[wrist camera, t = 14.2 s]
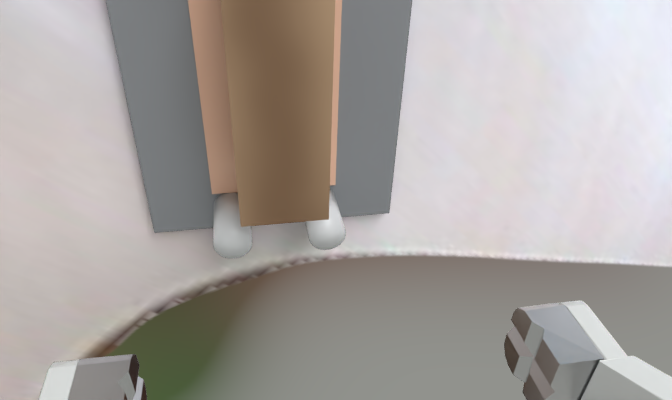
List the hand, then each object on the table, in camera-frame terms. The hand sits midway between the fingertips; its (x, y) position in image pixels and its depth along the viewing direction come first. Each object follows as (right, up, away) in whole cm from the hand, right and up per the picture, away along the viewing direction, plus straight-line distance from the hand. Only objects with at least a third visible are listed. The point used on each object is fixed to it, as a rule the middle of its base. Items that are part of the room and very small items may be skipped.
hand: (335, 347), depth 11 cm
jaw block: (-3, +10, +14) cm, 18 cm away
